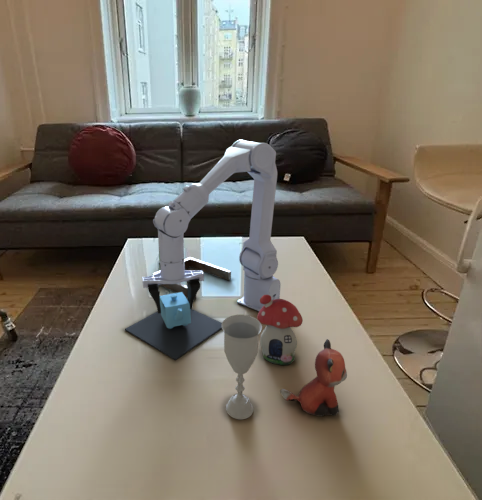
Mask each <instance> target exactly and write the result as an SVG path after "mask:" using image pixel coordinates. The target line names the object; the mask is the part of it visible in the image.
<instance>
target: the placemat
mask: <svg viewBox="0 0 482 500" xmlns="http://www.w3.org/2000/svg"><path fill="white" fill-rule="evenodd" d="M190 315H191V323H190V324H188V325H186V326H183V325H180V326H175V327H173V328H172V329H169V328H167V326H166V324H165V322H164V320H163V318H162V316H161V313H158V310H157V311H155V312H154V313H151V314H150V315H148V316H146V317H144V318H143V319H141V320H138V321H137V322H135V323H133V324H131V325H129V326H127V327H125V328H124V331H126V332H127V333H129V334H131V335H132V336H134V337H135V338H137V339H139V340H141V341H143V342H144V343H145V344H147V345H149V346H150V347H152V348H153V349H156V350H158V351H159V352H160V353H163V354H164V355H165V356H167V357H168V358H170V359H172V360H174V361H176V360H178V359H180V358H181V357H182V356H184V355H186V354H187V353H188V352H190V351H191V350H193V349H195V348H196V347H197V346H200V345H201V344H202V343H204V341H206V340H208V339H209V338H210V337H212V336H213V335H215V334H216V333H218V332H220V331H221V330H223V329H222V322H221V321H220V320H219V321H218V320H216V319H214V318H213V317H210V316H208V315H206V314H204V313H202V312H199V311H197V310H194V309H193V308H192V309H190Z"/></svg>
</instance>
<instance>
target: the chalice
mask: <svg viewBox="0 0 482 500" xmlns="http://www.w3.org/2000/svg"><path fill="white" fill-rule="evenodd" d="M221 323H222V329H221V330H222V332H223V336H224V338H223V339H224V340H223V348H224V349H223V350H224V354H225V357H226V360H227V362H228V363H229V365H230V367H231V369H232V370H233V372H234V373H235V374H237V377H236V378H235V381H236V383H237V384H236V385H235V387H234V388H235V390H236V393H234V394H232V396H231V397H229V400H228V402H227V403H226V405H225V412H226V413H227V414H228V415H229V416H230V417H231V418H233V419H236V420H245V419H248V418H250V417H251V416H252V415H253V413H254V407H253V404H252V402H251V401H250V398H249V397H248V396H247V395H245V394H244V393H243V392H244V391H245V389H246V387H245V386H244V384H243V383H244V382H245V377H244V374H247V373H248V372H249V370H250V369H251V368H252V366H253V365H254V362H255V360H256V358H257V356H258V353H259V342H260V340H259V339H260V335H261V333H262V331H263V324H261V323H260V322H259V320H257V317H254V316H251V315H248V314H234V315H229V316H228V317H226V318H224V320H222V322H221Z"/></svg>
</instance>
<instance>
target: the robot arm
mask: <svg viewBox="0 0 482 500" xmlns="http://www.w3.org/2000/svg"><path fill="white" fill-rule="evenodd" d="M276 157H277V152H276V150H275V149H274V148H273V147H272V145H270V144H268V143H266V142H256V141H249V140H245V139H238V140H236V141H234V142H233V144H232V145H231V146H229V147H228V148H226V149H225V152H224V155H223V156H222V157H221V158H220V159H219V161H218V162H217V163H216V164H215V165H214V166H213V167H212V168H211V169H210V171H209V172H207V174H206V175H205V176H204V177H203V178H201V180H200V181H199V182H198V183H190V184H189V185H185V186H184V187H183V188H182V191H181V193H180V194H178V195H177V196H176V197H175V198H174V200H170V201H169V202H168V204H167V205H166V206H163V207H160V208H159V209H158V210H157V212H155V215H154V218H153V219H152V223H153V225H154V227H155V228H156V229H157V235H158V234H159V245H158V253H159V252H160V262H159V264H160V265H159V266H160V270H161V273H158V274H155V275H152V274H151V275H147V276H142V277H141V281H142V288H143V289H147V290H148V293H149V295H150V296H151V298H152V299H153V301H154V303H155V306H156V310H157V311H158V313H161V306H160V296H161V294H160V293H161V292H160V288H159V287H160V285H162V284H178V283H181V284H182V283H186V286H187V289H188V298H187V300H188V302H189V303H190V309H193V307H194V306H193V304H194V302H195V300H196V299H195V296H196V297H197V294H198V292H199V291H200V289H201V282H204V281H205V277H204V273H205V272H203V271H202V270H187V269H185V261H184V260H185V239H184V237H185V236H183V233H186V232H187V230H188V227H189V224H190V222H191V219H192V218H194V216H196V215H197V214H198V213H199V212H200V210H202V209H203V208H204V207H205V206H206V205H207V204H208V203H209V197H210V194H211V193H212V192H214V191H215V190H216V189H217V188H218V187H220V185H222V184H223V183H224V182H225V181H226V180H228V179H229V178H230V177H231V176H232V175H234V174H236V173H246V172H247V174H249V176H250V177H251V178H253V189H252V202H251V214H250V223H249V227H250V228H249V236H248V239H246V240H244V242H243V243H242V248H241V251H240V253H239V257H238V262H239V263H240V265H241V266H243V267H242V270H243V271H244V272H243V273H244V274H243V296H242V297H241V298H240V299H238V300H237V301H236V302H237V304H240V305H242V306H244V307H247V308H250V309H252V310H255V311H257V312H259V311H260V310H261V308H262V307H263V306H264V304H261V303H260V298H261V297H262V296H263V295H270V296H271V300H275V299H281V298H280V297H281V280H280V279H279V278H277V277H275V276H274V274H276V272H277V270H278V268H279V261H278V258H277V257H278V256H277V254H278V253H277V249H276V247H275V245H274V244H273V242H272V241H271V240H272V239H271V237H272V227H273V219H274V208H275V200H276V193H277V181H278V169H277V164H276ZM194 299H195V300H194Z"/></svg>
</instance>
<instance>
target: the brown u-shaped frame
mask: <svg viewBox="0 0 482 500" xmlns="http://www.w3.org/2000/svg"><path fill="white" fill-rule="evenodd" d="M184 261H185V270H187V269H189V268H192V269H195V270H197V271H200V270H202V272H203V273H207V274H208V275H209V274H210V275H211V276H214V277H218V278H220V279H222V280H224V281H225V280H226V281H228V282H229V281H231V280H232V271H231V270H229V269H227V268H223V267H221V266H218V265H214V264H212V263H209V262H206V261H203V260H200V259H197V258H195V257H193V256H192V257H191V256H189V257H187V258H184ZM158 273H161V269H159V270H157V271H155V272H153V273H151V275H155V274H158ZM159 287H162V288H165V289H167V290H169V291H171V292H174V293H179V292H182V293H183V294H184V296H185V297H186V299H188V289H187V284H183V283H182V282H181V283H178V284H162V285H159ZM195 300H197V295H196V296H195V299H194V301H195Z"/></svg>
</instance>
